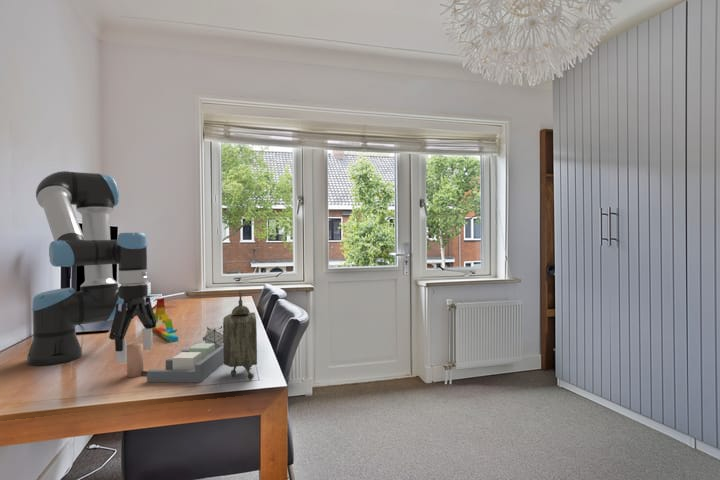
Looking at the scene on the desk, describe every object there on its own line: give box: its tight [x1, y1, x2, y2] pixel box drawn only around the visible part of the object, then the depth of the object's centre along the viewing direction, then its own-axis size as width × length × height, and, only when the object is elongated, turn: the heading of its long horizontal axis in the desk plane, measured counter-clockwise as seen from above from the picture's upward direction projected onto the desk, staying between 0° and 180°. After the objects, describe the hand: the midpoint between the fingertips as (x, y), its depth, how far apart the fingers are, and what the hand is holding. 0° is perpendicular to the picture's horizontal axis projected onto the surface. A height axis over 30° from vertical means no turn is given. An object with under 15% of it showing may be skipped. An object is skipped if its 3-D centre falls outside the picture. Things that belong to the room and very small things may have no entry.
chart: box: [151, 298, 179, 343], centre depth 178 cm, size 30×3×15 cm, turn 40°
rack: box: [146, 345, 224, 383], centre depth 132 cm, size 16×22×5 cm
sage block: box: [188, 342, 216, 359], centre depth 137 cm, size 6×6×6 cm
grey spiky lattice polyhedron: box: [202, 325, 223, 349], centre depth 155 cm, size 9×8×10 cm
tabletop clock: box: [222, 290, 258, 380], centre depth 126 cm, size 14×9×25 cm, turn 17°
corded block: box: [126, 342, 202, 378], centre depth 127 cm, size 21×6×9 cm, turn 87°
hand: (135, 355), depth 127 cm, fingers open, 13 cm apart
